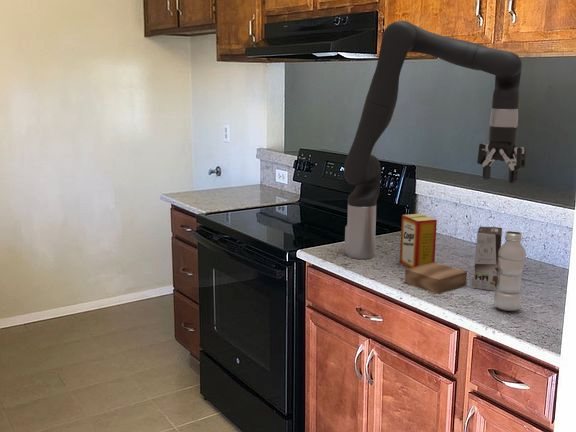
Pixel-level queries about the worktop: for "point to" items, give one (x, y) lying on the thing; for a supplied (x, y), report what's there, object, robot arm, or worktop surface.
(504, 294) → the plastic bottle
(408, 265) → the baking soda box
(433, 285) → the brown flat square block
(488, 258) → the coffee box
